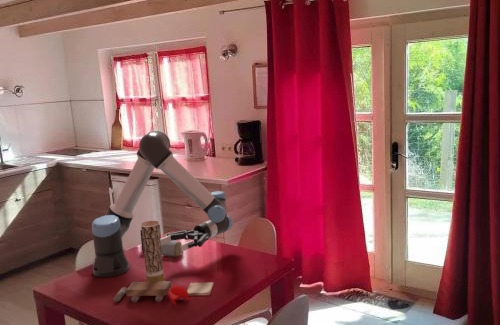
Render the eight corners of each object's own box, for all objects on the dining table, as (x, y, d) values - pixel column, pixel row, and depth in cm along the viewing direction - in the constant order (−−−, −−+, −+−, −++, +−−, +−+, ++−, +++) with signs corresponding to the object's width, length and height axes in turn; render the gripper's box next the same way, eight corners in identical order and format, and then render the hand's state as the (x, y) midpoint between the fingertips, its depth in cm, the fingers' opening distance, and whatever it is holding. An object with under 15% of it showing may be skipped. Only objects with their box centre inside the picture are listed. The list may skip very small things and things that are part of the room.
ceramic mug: (176, 259, 215) (174, 242, 213) (160, 257, 217) (159, 241, 216) (187, 251, 224) (186, 235, 223) (172, 250, 227) (170, 234, 226)
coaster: (185, 295, 176) (185, 293, 176) (190, 285, 185) (190, 282, 185) (209, 295, 175) (209, 292, 175) (213, 284, 184) (213, 282, 184)
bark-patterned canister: (156, 287, 185) (150, 226, 181) (143, 284, 189) (137, 224, 184) (167, 281, 191) (162, 221, 186) (155, 278, 194) (149, 220, 190)
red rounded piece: (166, 299, 167) (180, 290, 166) (165, 287, 172) (178, 278, 171) (179, 311, 171) (193, 302, 171) (178, 299, 176) (191, 290, 176)
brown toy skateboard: (113, 303, 174) (111, 290, 173) (121, 292, 182) (120, 281, 181) (166, 302, 172) (165, 289, 171) (172, 291, 180) (171, 279, 180)
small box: (154, 251, 226) (152, 230, 225) (141, 251, 228) (139, 230, 226) (162, 244, 237) (160, 224, 235) (150, 244, 238) (148, 224, 236)
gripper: (226, 243, 204) (192, 259, 187) (186, 235, 219) (150, 249, 202) (225, 226, 202) (190, 241, 186) (184, 219, 218) (149, 232, 201)
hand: (169, 245), depth 194 cm, fingers open, 13 cm apart
